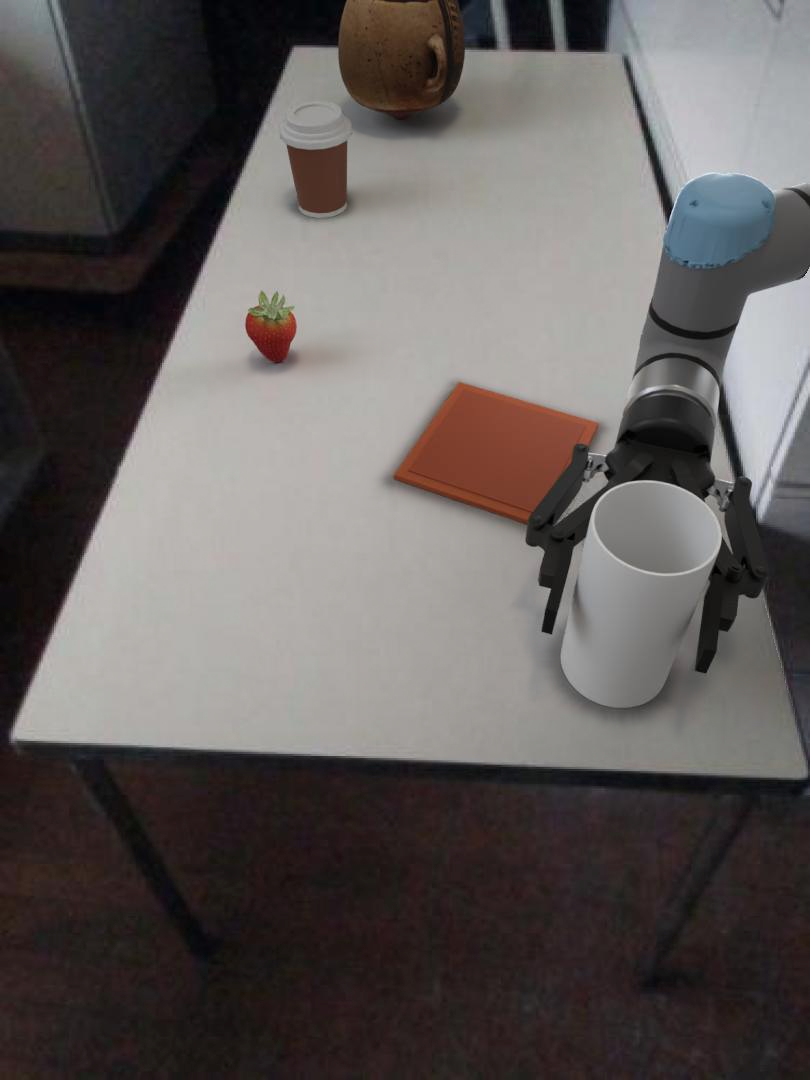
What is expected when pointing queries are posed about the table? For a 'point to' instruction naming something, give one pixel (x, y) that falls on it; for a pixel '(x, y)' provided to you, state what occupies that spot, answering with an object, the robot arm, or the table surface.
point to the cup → (637, 590)
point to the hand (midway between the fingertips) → (625, 641)
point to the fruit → (271, 327)
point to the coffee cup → (318, 156)
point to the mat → (494, 451)
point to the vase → (401, 53)
